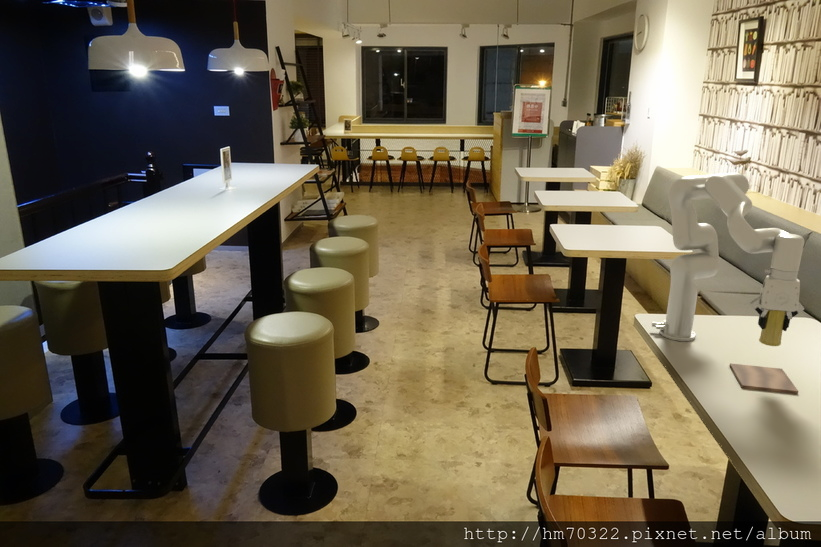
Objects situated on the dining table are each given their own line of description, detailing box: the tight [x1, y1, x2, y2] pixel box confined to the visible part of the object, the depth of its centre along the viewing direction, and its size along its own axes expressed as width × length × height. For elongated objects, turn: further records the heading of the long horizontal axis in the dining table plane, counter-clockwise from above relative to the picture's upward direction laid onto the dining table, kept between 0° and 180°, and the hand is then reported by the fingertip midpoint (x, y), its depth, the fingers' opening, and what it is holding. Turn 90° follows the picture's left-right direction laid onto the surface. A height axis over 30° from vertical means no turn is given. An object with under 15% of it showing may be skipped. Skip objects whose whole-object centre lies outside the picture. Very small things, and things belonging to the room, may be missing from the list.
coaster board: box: [729, 362, 799, 395], centre depth 203 cm, size 16×16×1 cm
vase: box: [758, 310, 786, 347], centre depth 197 cm, size 6×6×14 cm
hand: (772, 328), depth 198 cm, fingers closed on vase, 5 cm apart
